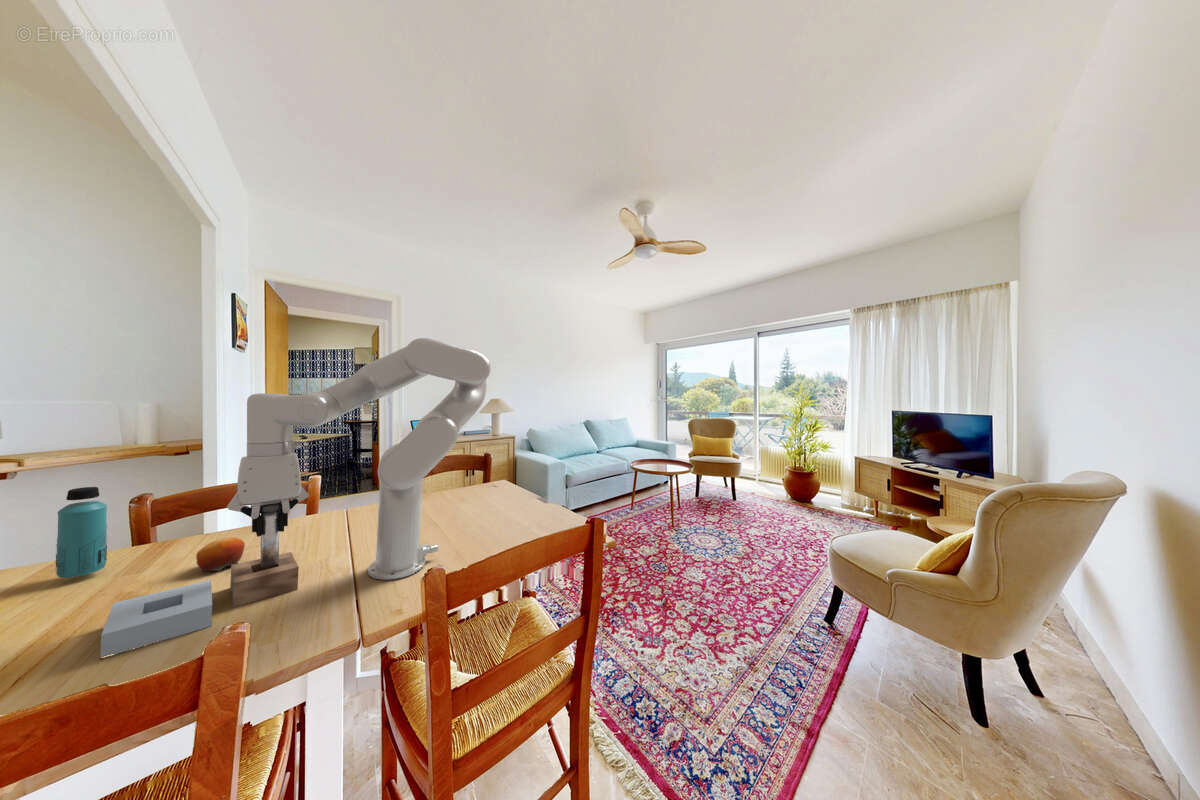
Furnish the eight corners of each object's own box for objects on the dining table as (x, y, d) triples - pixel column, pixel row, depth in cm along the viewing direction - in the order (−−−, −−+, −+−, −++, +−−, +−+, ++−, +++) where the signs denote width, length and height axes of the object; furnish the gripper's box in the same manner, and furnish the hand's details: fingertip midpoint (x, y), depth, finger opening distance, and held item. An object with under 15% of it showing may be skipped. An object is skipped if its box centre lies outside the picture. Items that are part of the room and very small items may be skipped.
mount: (290, 572, 86) (291, 551, 86) (297, 589, 79) (298, 566, 79) (230, 587, 78) (231, 565, 78) (232, 607, 71) (234, 582, 71)
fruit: (219, 572, 82) (206, 540, 82) (196, 585, 83) (184, 553, 84) (259, 557, 89) (247, 527, 90) (237, 569, 91) (226, 540, 92)
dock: (210, 598, 74) (211, 579, 74) (211, 626, 66) (212, 604, 66) (112, 624, 65) (113, 602, 65) (100, 659, 57) (101, 634, 57)
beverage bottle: (103, 578, 79) (106, 488, 79) (49, 589, 74) (52, 493, 74) (109, 567, 84) (112, 482, 83) (58, 577, 79) (61, 487, 78)
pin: (280, 558, 82) (280, 500, 81) (282, 564, 79) (283, 503, 79) (257, 564, 79) (257, 503, 78) (259, 570, 76) (259, 507, 76)
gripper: (314, 444, 87) (313, 518, 87) (215, 451, 75) (215, 538, 75) (321, 448, 82) (320, 527, 82) (216, 456, 70) (216, 549, 70)
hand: (270, 531), depth 79 cm, fingers closed on pin, 3 cm apart
